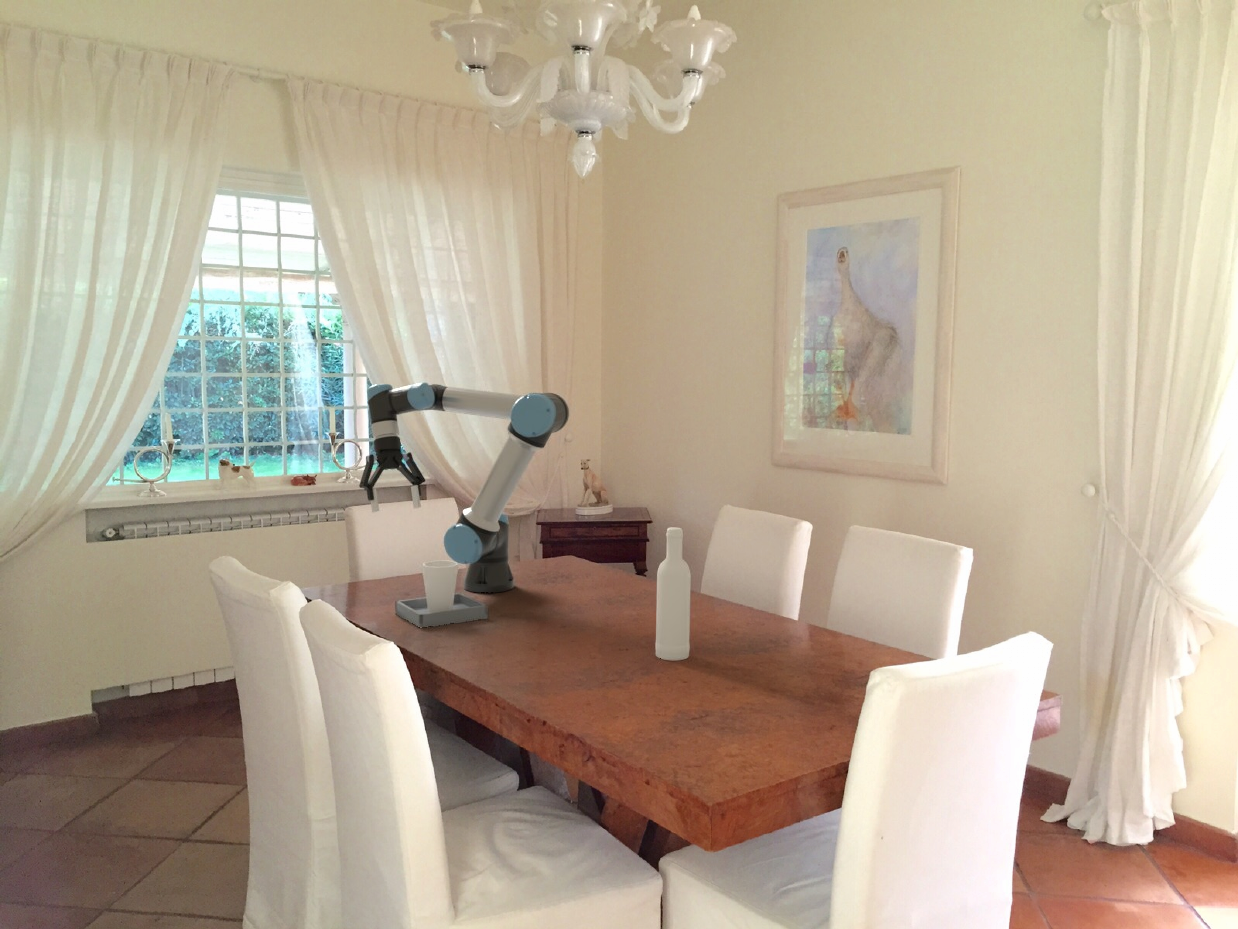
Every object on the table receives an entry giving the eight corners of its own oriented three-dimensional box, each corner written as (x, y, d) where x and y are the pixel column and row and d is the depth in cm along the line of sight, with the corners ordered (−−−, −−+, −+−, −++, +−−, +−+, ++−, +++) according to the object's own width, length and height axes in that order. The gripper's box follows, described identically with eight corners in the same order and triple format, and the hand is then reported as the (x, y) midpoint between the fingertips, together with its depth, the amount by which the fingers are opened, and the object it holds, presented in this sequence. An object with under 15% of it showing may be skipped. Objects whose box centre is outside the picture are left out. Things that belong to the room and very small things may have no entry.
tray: (460, 605, 268) (460, 592, 268) (487, 618, 254) (487, 605, 254) (395, 614, 257) (395, 601, 257) (420, 628, 243) (419, 615, 243)
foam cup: (462, 608, 260) (462, 561, 258) (453, 616, 250) (452, 568, 249) (428, 607, 260) (427, 559, 259) (417, 615, 251) (417, 566, 250)
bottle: (683, 662, 218) (686, 532, 215) (650, 658, 220) (653, 529, 217) (693, 653, 225) (696, 527, 222) (661, 649, 228) (663, 524, 225)
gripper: (417, 438, 290) (427, 508, 288) (340, 441, 272) (351, 515, 270) (430, 433, 284) (440, 504, 282) (353, 436, 267) (364, 511, 265)
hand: (396, 509), depth 276 cm, fingers open, 13 cm apart
